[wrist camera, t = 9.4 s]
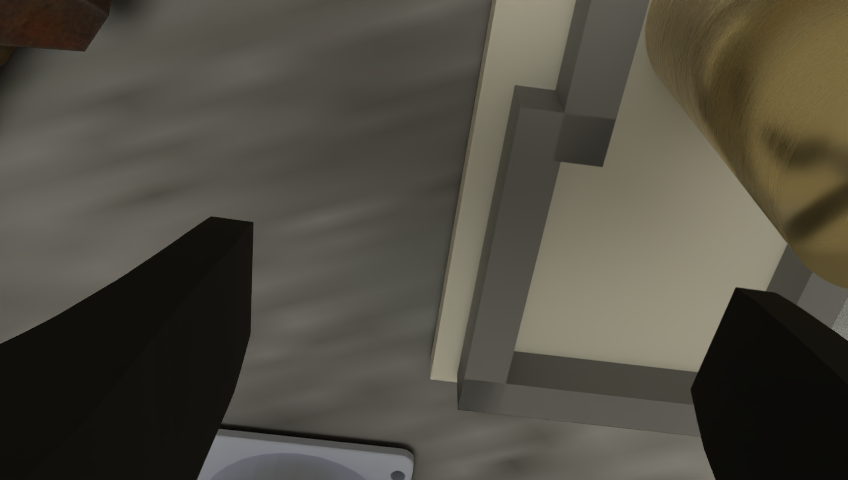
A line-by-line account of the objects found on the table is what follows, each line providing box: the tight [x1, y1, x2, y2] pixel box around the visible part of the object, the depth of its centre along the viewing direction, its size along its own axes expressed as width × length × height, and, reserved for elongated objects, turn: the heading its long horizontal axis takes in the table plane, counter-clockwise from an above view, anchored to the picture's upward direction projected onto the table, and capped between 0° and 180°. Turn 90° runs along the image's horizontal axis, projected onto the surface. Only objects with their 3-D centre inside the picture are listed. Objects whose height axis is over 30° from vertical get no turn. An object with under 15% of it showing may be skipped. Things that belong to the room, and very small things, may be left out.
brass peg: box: [645, 0, 848, 289], centre depth 13 cm, size 4×4×8 cm
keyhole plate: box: [430, 0, 848, 437], centre depth 19 cm, size 15×11×2 cm
